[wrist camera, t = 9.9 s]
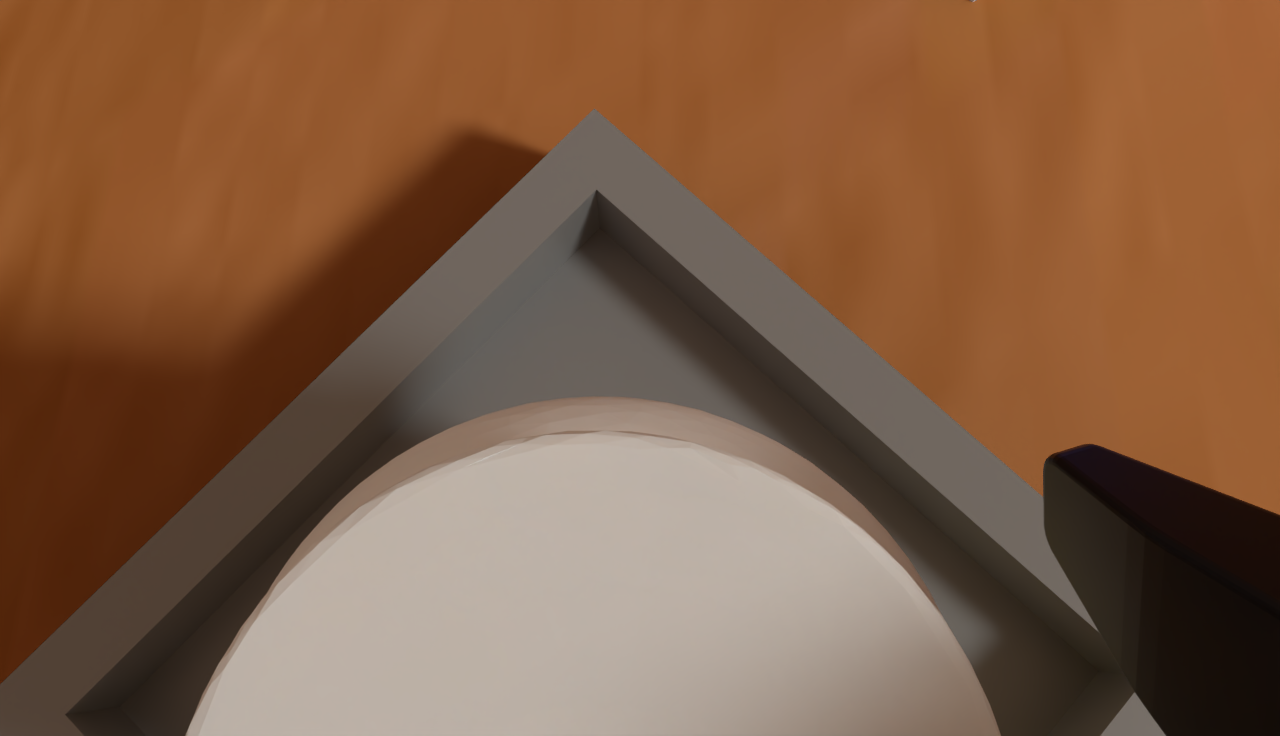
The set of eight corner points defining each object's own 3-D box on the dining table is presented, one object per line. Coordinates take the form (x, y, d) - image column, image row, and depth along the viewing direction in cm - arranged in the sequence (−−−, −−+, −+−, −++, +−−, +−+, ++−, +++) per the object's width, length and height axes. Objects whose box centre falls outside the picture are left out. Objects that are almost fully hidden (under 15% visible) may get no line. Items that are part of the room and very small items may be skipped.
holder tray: (631, 1339, 16) (630, 1467, 14) (55, 706, 18) (-35, 718, 16) (1162, 665, 18) (1245, 672, 16) (599, 171, 20) (594, 109, 18)
